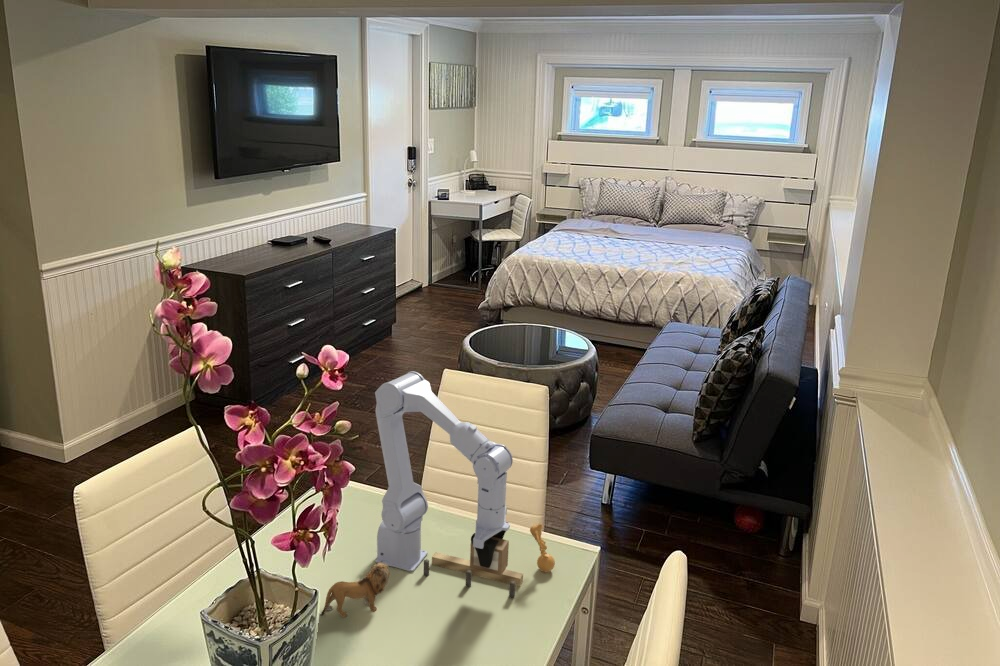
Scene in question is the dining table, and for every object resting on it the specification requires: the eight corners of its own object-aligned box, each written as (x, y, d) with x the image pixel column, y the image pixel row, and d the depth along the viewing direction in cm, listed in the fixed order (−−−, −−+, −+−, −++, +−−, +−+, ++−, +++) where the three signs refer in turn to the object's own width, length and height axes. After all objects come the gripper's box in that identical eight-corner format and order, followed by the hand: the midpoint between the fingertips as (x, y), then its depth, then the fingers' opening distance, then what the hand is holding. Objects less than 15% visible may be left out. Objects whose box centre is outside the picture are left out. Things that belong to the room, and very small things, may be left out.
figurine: (557, 581, 172) (560, 533, 168) (530, 582, 171) (533, 534, 168) (550, 559, 180) (554, 513, 176) (525, 560, 179) (527, 514, 176)
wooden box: (469, 567, 164) (470, 543, 162) (476, 557, 168) (477, 533, 166) (501, 575, 162) (502, 550, 160) (507, 565, 165) (508, 540, 164)
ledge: (422, 575, 172) (422, 561, 171) (435, 559, 178) (435, 546, 177) (513, 598, 166) (514, 584, 164) (523, 581, 171) (523, 567, 170)
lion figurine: (384, 592, 166) (384, 555, 163) (393, 606, 162) (393, 569, 159) (316, 610, 160) (315, 573, 157) (323, 626, 155) (322, 587, 152)
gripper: (497, 524, 152) (494, 584, 156) (521, 490, 165) (518, 546, 170) (464, 516, 155) (462, 575, 159) (490, 484, 168) (488, 539, 172)
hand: (489, 560), depth 164 cm, fingers closed on wooden box, 4 cm apart
